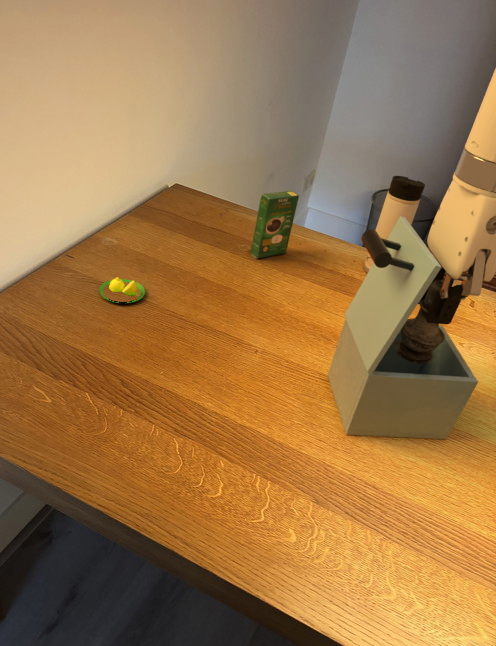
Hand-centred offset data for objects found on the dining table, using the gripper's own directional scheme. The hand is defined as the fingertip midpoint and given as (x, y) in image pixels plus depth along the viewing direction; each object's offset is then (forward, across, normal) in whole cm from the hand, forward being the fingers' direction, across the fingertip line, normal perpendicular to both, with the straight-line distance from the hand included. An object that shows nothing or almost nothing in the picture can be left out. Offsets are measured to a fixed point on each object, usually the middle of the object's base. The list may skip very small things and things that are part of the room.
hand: (431, 311), depth 71 cm
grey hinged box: (+17, 0, +1) cm, 17 cm away
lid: (-2, 0, +6) cm, 7 cm away
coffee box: (+17, +46, +13) cm, 51 cm away
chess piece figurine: (+7, 0, 0) cm, 7 cm away
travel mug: (+17, +42, -10) cm, 46 cm away
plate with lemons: (+17, +26, +42) cm, 52 cm away
